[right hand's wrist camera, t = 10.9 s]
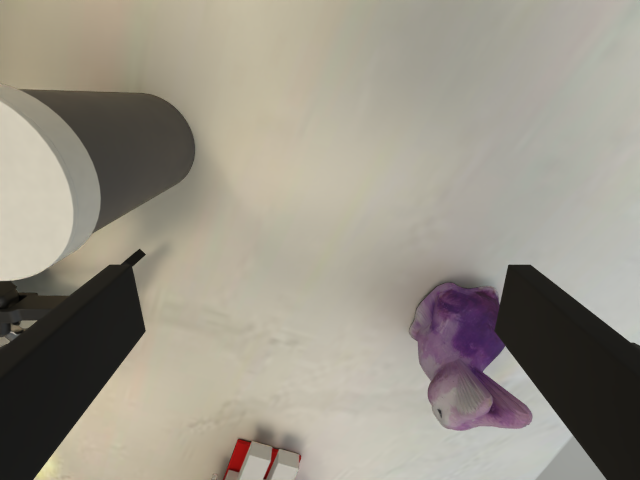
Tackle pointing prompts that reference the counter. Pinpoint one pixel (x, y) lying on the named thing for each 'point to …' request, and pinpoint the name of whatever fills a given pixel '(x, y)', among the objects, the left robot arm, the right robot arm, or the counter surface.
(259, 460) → the toy
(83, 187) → the lid
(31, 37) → the counter surface
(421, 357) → the figurine
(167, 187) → the jar
